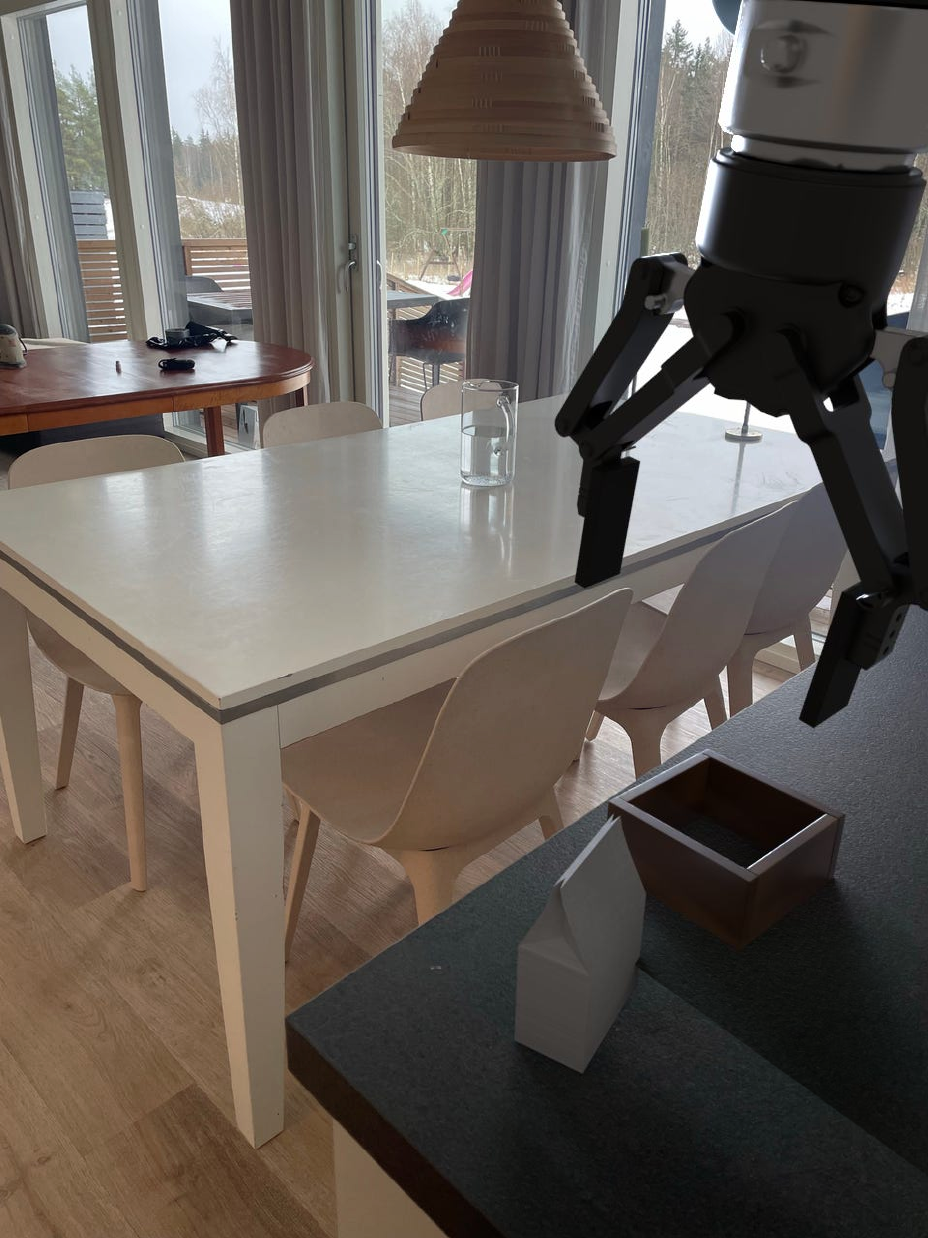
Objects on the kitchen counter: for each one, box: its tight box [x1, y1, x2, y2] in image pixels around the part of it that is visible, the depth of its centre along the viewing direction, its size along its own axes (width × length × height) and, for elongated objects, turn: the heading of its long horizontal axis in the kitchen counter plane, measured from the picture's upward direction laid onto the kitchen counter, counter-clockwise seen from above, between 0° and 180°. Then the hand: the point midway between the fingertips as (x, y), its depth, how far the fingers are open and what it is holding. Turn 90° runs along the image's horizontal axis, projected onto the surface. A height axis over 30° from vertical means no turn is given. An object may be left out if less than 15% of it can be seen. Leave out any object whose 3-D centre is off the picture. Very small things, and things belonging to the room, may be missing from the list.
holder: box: [606, 748, 846, 951], centre depth 55 cm, size 10×10×6 cm
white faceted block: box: [514, 814, 647, 1074], centre depth 46 cm, size 4×7×10 cm, turn 148°
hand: (699, 639), depth 45 cm, fingers open, 13 cm apart
